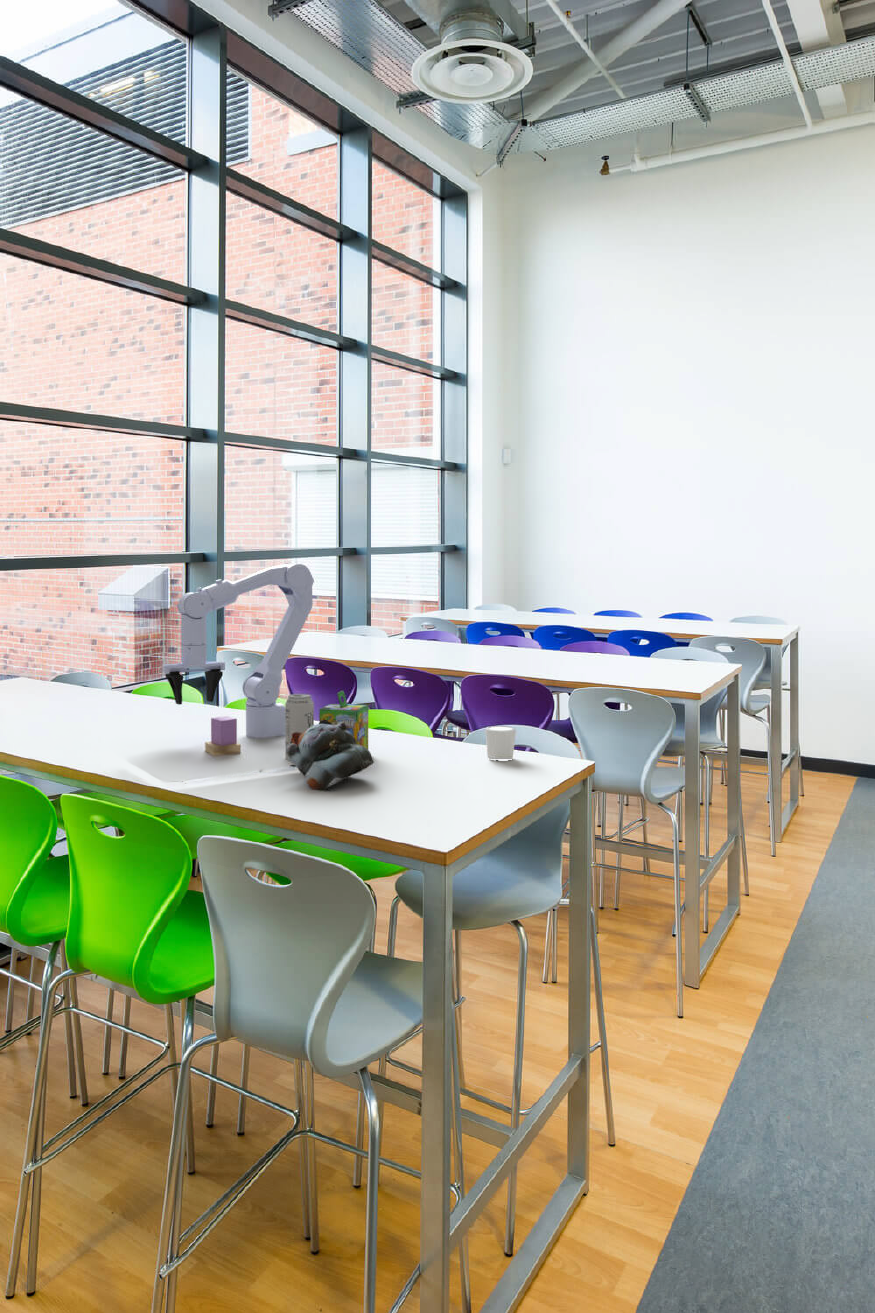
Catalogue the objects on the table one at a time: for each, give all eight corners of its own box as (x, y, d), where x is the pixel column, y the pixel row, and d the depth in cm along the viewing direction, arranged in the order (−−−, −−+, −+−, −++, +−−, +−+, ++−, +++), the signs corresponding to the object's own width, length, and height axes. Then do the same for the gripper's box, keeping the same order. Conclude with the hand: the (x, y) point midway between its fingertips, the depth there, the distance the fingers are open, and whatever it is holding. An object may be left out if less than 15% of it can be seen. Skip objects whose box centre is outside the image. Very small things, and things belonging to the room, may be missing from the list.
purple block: (227, 740, 201) (227, 716, 200) (236, 743, 198) (236, 718, 197) (211, 742, 198) (211, 718, 197) (220, 745, 195) (220, 720, 195)
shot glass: (479, 760, 200) (480, 729, 200) (492, 754, 207) (493, 724, 206) (508, 763, 197) (508, 732, 197) (520, 757, 203) (520, 727, 203)
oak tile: (231, 748, 202) (231, 740, 202) (240, 753, 197) (240, 744, 197) (205, 751, 199) (205, 742, 199) (213, 756, 194) (213, 747, 194)
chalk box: (358, 762, 196) (358, 695, 194) (318, 760, 198) (318, 693, 196) (369, 754, 205) (370, 690, 203) (331, 751, 207) (331, 688, 205)
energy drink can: (308, 768, 190) (308, 698, 188) (281, 766, 191) (281, 696, 189) (317, 762, 195) (317, 694, 194) (291, 760, 197) (291, 693, 195)
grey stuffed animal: (314, 794, 168) (285, 726, 170) (301, 804, 179) (274, 740, 181) (383, 764, 175) (355, 699, 177) (367, 775, 185) (340, 714, 187)
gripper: (216, 641, 215) (216, 697, 216) (156, 644, 206) (157, 702, 208) (228, 644, 210) (229, 701, 211) (168, 646, 201) (169, 706, 202)
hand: (194, 702), depth 209 cm, fingers open, 7 cm apart
